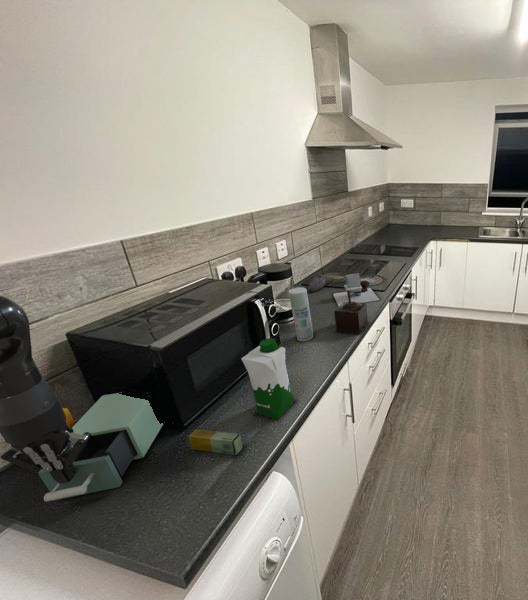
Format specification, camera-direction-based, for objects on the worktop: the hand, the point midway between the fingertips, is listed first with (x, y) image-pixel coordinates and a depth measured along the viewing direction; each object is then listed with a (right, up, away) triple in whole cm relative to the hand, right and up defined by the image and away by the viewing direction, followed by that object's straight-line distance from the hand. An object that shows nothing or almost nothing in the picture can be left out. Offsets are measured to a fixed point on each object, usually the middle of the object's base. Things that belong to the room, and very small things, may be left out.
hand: (67, 479), depth 62 cm
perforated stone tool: (+19, +40, +116) cm, 124 cm away
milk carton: (+30, +4, +28) cm, 41 cm away
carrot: (-15, -2, +16) cm, 23 cm away
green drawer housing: (-4, 0, +18) cm, 19 cm away
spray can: (+27, +20, +65) cm, 73 cm away
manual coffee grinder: (+46, +24, +74) cm, 90 cm away
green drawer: (-1, -4, +8) cm, 9 cm away
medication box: (+21, -1, +15) cm, 26 cm away
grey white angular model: (+42, +36, +104) cm, 117 cm away
